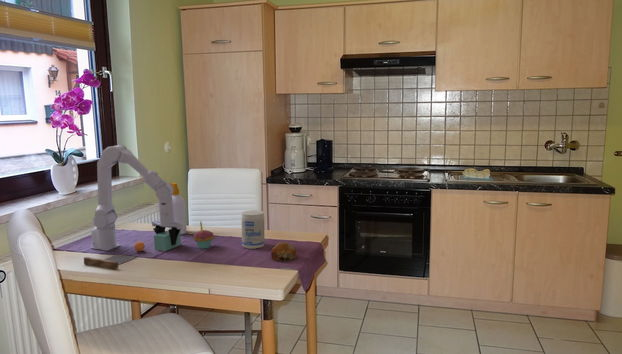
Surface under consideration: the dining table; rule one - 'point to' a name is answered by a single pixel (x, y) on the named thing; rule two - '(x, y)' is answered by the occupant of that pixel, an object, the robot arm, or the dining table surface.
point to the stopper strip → (101, 263)
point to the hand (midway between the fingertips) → (167, 243)
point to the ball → (139, 246)
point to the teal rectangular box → (165, 241)
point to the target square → (120, 258)
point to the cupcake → (203, 238)
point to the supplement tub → (253, 229)
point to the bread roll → (283, 252)
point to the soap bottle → (179, 209)
